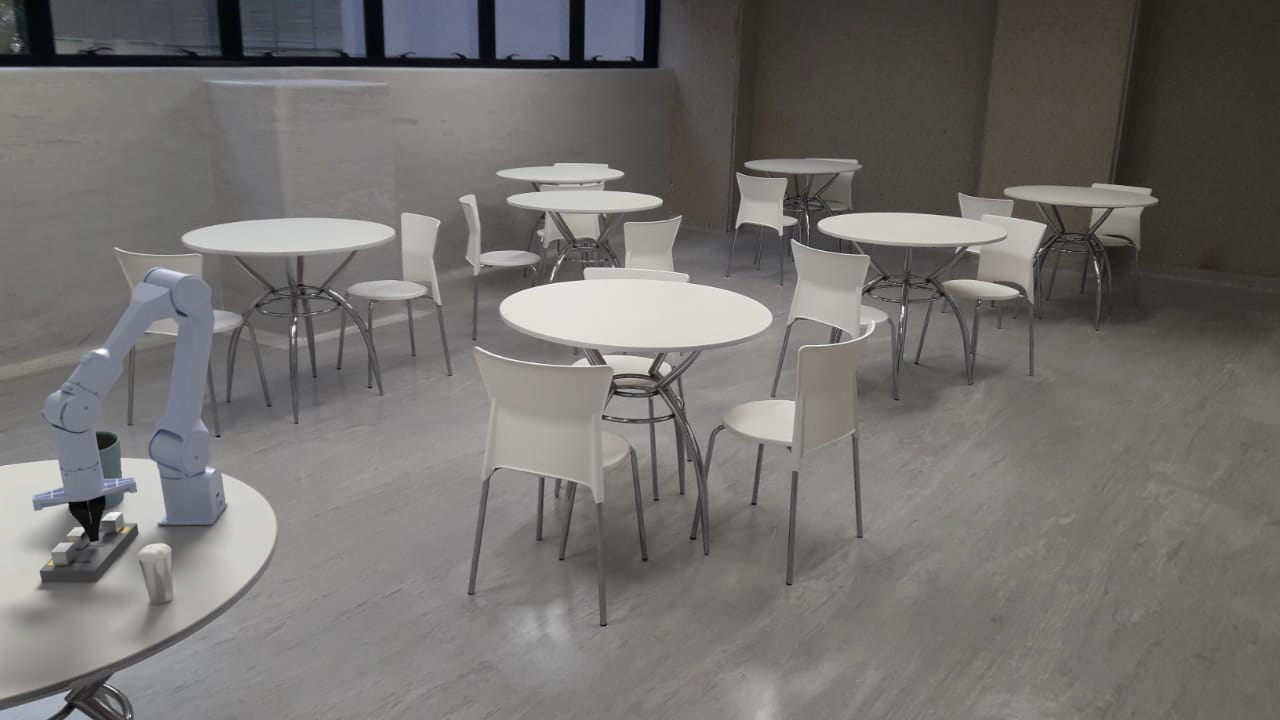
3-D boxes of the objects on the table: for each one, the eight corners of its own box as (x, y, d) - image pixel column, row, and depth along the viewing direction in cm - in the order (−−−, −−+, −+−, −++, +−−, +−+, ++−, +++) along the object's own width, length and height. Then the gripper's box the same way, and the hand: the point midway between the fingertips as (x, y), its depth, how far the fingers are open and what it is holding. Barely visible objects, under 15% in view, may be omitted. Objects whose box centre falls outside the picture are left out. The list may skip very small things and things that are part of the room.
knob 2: (91, 539, 164) (88, 527, 163) (82, 548, 161) (80, 535, 160) (77, 539, 164) (74, 527, 163) (68, 548, 161) (66, 535, 160)
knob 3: (124, 524, 169) (122, 512, 168) (117, 533, 166) (114, 520, 165) (111, 524, 168) (109, 512, 168) (103, 533, 166) (101, 520, 165)
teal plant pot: (87, 488, 186) (76, 429, 182) (140, 490, 185) (130, 431, 181) (55, 514, 176) (42, 453, 172) (111, 516, 176) (100, 455, 172)
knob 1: (76, 555, 159) (73, 542, 158) (67, 565, 156) (65, 551, 156) (62, 555, 159) (59, 542, 158) (53, 565, 156) (50, 551, 155)
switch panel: (138, 533, 170) (136, 522, 170) (97, 581, 156) (94, 570, 156) (88, 533, 170) (86, 522, 169) (41, 581, 156) (39, 570, 155)
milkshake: (183, 586, 155) (174, 530, 152) (174, 605, 150) (164, 548, 147) (152, 588, 155) (142, 532, 151) (141, 608, 150) (131, 550, 146)
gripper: (129, 445, 164) (142, 518, 169) (27, 462, 157) (43, 537, 162) (131, 462, 158) (144, 537, 163) (26, 480, 152) (42, 558, 156)
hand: (94, 538), depth 162 cm, fingers closed
